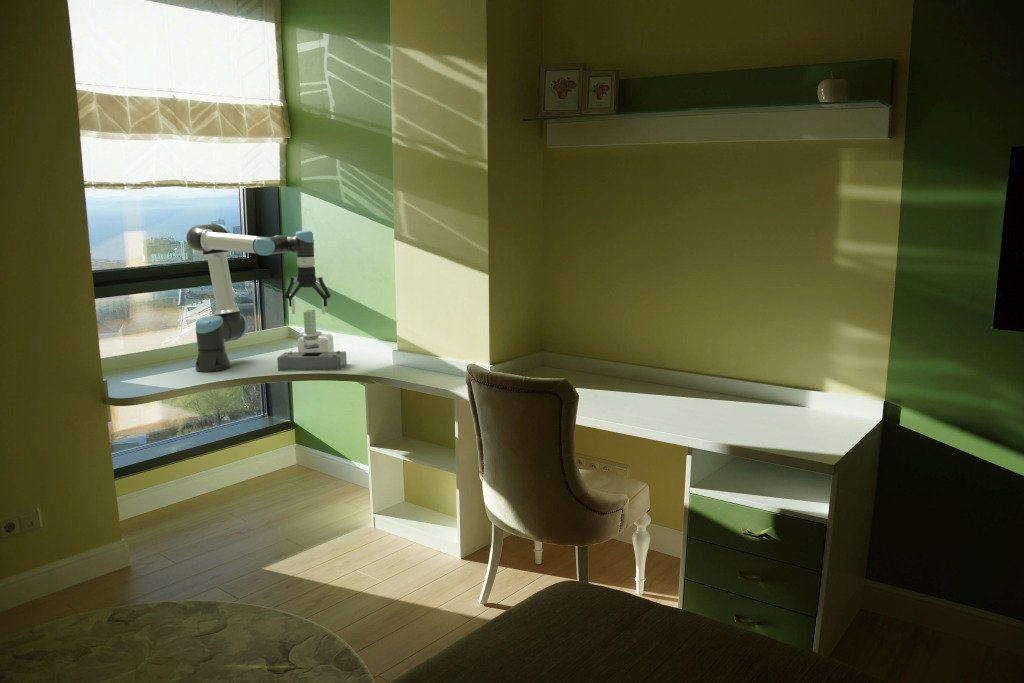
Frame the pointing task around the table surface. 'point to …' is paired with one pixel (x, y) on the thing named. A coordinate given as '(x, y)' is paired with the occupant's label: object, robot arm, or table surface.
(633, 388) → the table surface
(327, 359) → the block
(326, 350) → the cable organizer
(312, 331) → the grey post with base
